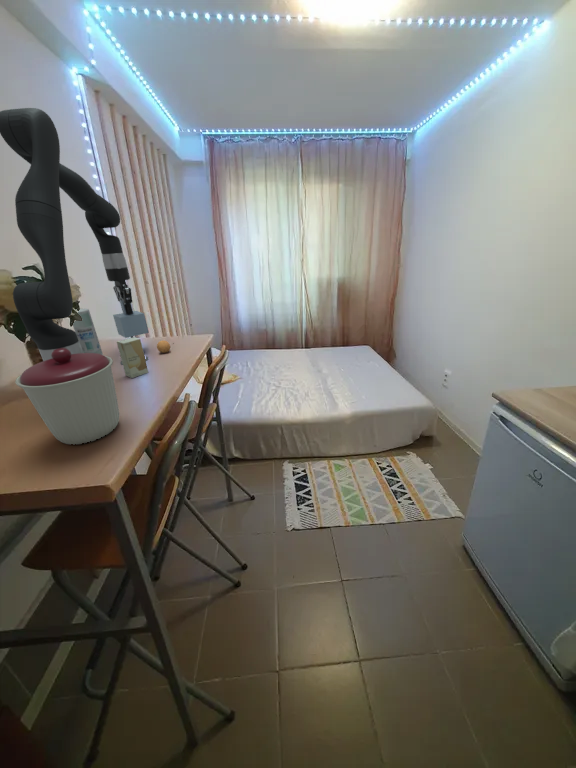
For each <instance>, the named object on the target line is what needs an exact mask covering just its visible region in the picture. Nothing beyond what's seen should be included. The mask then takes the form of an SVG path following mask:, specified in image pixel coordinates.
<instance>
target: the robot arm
mask: <svg viewBox="0 0 576 768" xmlns="http://www.w3.org/2000/svg"><path fill="white" fill-rule="evenodd" d="M0 136H1V137H2V139H3V141H4V142H5V143H6V145H8V146H9V148H11V150H12V151H14V152H15V154H17V155H18V156H19V157H21V158H22V159H23V160H25V161H26V162H27V163H28V164H30V166H29V169H28V171H27V173H26V175H25V176H24V178H23V180H22V181H21V183H20V185H19V186H18V189H17V191H16V194H15V198H14V199H15V205H14V206H15V216H16V224H17V227H18V230H19V232H20V233H21V234H22V236H23V238H24V239H25V240H26V242H27V243H28V244H29V246H31V248H32V249H33V250H34V251H35V253H36V254H37V256H38V258H40V261H41V264H42V267H43V272H44V273H43V274H44V275H43V276H44V281H30V282H20V283H19V284H17V285H15V286H14V287H13V288H14V289H13V292H12V300H13V303H14V306H15V308H16V311H17V313H18V316H19V317H20V319H21V321H22V323H23V325H24V328H25V329H26V331H27V334H28V335H29V337H30V339H31V340H32V341H33V342H34V343H35V344H36V347H37V349H38V350H39V354H40V356H41V358H42V362H43V361H46V360H49V359H52V357H51V354H52V352H53V351H54V350H56V349H59V348H66V349H68V350H69V351H70V352H71V354H78V353H83V351H82V348H81V345H80V343H79V340H78V337H77V334H76V333H75V330H74V329H71V328H70V329H69V328H67V327H63V326H61V325H59V324H57V323H56V322H54V320H60V319H61V320H62V319H66V318H70V317H69V316H70V315H71V313H72V310H74V308H73V307H74V302H73V301H74V300H73V294H72V288H71V283H70V279H69V271H68V267H67V260H66V259H67V258H66V250H65V249H66V248H65V240H64V239H65V237H64V224H63V222H64V221H63V213H62V204H61V194H60V193H61V192H60V191H61V190H62V191H63V192H64V193H65V194H66V195H67V196H69V198H70V199H71V200H72V201H73V202H74V203H75V204H76V205H77V206H78V208H80V209H81V210H82V211H84V215H85V220H86V222H87V225H88V226H89V228H90V229H91V231H92V233H93V235H94V236H95V238H96V240H97V242H98V245H99V249H100V254H101V258H102V263H103V267H104V270H105V274H106V277H107V281H108V282H114V286H113V288H112V289H113V292H114V293H115V296H116V299H117V302H119V303H120V300H123V304H124V306H125V310H126V314H128V315H129V314H133V311H134V310H133V311H132V309H133V307H132V308H131V305H132V303H133V298H132V297H133V296H132V289H131V287H129V285H128V284H127V281H129V280H130V279H131V276H130V272H129V267H128V264H127V259H126V257H125V255H124V252H123V247H122V243H121V239H120V238H119V237H118V236H117V235H113V234H108V233H107V232H106V230H105V229H113V228H117V227H119V225H120V224H121V215H120V213H119V212H118V210H117V209H116V207H115V206H113V204H112V203H110V201H108V200H106V199H105V198H103V197H102V196H101V195H100V194H98V193H97V192H96V191H95V190H94V189H93V188H92V186H91V185H90V183H88V181H86V180H85V178H83V177H82V176H81V175H79V173H77V172H75V171H74V170H72V169H71V168H69V167H67V166H66V165H64V164H62V163H61V161H60V159H61V156H60V155H61V154H60V153H61V151H60V150H61V148H60V147H61V145H60V138H59V134H58V130H57V128H56V125H55V123H54V121H53V120H52V118H51V117H50V115H49V114H48V113H47V112H46V111H44V110H42V109H40V108H37V107H22V108H20V107H19V108H11V109H4V110H0ZM60 189H61V190H60ZM127 299H128V300H127Z"/></svg>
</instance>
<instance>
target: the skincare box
mask: <svg viewBox="0 0 576 768" xmlns="http://www.w3.org/2000/svg"><path fill="white" fill-rule="evenodd" d="M116 344H117V348H118V352H119V356H120V359H121V361H122V363H123V365H122V366H123V370H124V373H125V377H129V378H130V379H134V378H137V377H138V376H142V375H145V374H148V373H149V369H148V365H147V361H146V360H145V356H146V355H145V353H144V348H143V344H142V340H141V338H139V337H135V336H132V337H128V338H125V339H122V340H119V341H116Z"/></svg>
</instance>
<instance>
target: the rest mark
mask: <svg viewBox="0 0 576 768" xmlns="http://www.w3.org/2000/svg"><path fill="white" fill-rule="evenodd" d="M145 356H146V359H145V360H146V362H147V361H148V360H149V359H148V358H149V356H147V355H145ZM120 365H121V366H123V363H122V360H121V361H120Z"/></svg>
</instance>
